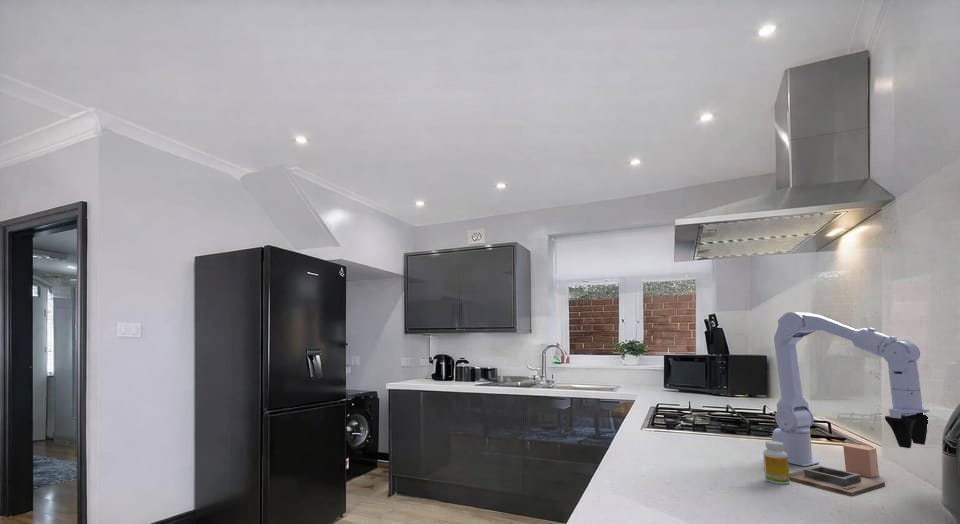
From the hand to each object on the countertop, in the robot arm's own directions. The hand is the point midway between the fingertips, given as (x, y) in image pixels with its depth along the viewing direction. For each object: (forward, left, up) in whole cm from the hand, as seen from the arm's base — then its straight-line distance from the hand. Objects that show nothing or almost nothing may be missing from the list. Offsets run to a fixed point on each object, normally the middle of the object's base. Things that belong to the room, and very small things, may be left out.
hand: (912, 445), depth 121 cm
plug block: (-13, +3, -10) cm, 17 cm away
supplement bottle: (-20, -24, -10) cm, 33 cm away
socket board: (-13, -12, -10) cm, 20 cm away
